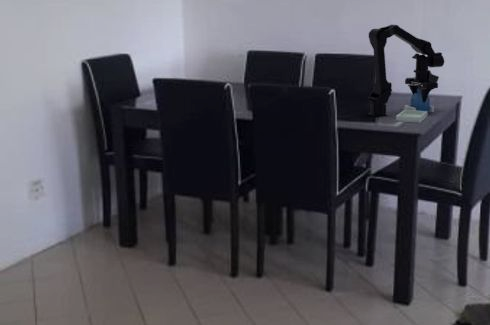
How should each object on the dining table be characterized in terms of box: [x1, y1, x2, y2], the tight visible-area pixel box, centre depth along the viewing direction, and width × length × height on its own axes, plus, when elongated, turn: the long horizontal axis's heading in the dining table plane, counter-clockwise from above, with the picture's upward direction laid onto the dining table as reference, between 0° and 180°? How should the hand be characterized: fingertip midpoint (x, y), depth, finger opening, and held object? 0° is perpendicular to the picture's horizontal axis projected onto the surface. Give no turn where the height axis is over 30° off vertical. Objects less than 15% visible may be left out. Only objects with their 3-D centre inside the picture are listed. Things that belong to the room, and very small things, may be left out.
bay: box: [402, 104, 435, 113], centre depth 311 cm, size 11×9×2 cm
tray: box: [395, 110, 429, 124], centre depth 294 cm, size 16×11×2 cm, turn 154°
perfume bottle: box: [410, 85, 431, 113], centre depth 309 cm, size 6×6×12 cm
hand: (420, 101), depth 309 cm, fingers closed on perfume bottle, 6 cm apart
